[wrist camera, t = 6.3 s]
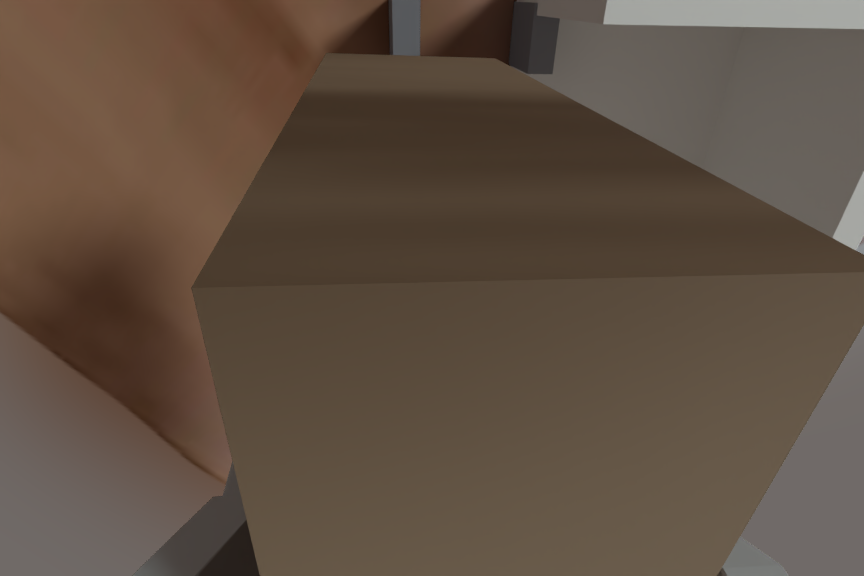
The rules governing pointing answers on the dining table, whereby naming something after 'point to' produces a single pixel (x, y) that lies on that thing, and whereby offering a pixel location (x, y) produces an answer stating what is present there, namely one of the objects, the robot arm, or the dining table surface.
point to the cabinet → (712, 87)
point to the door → (506, 335)
